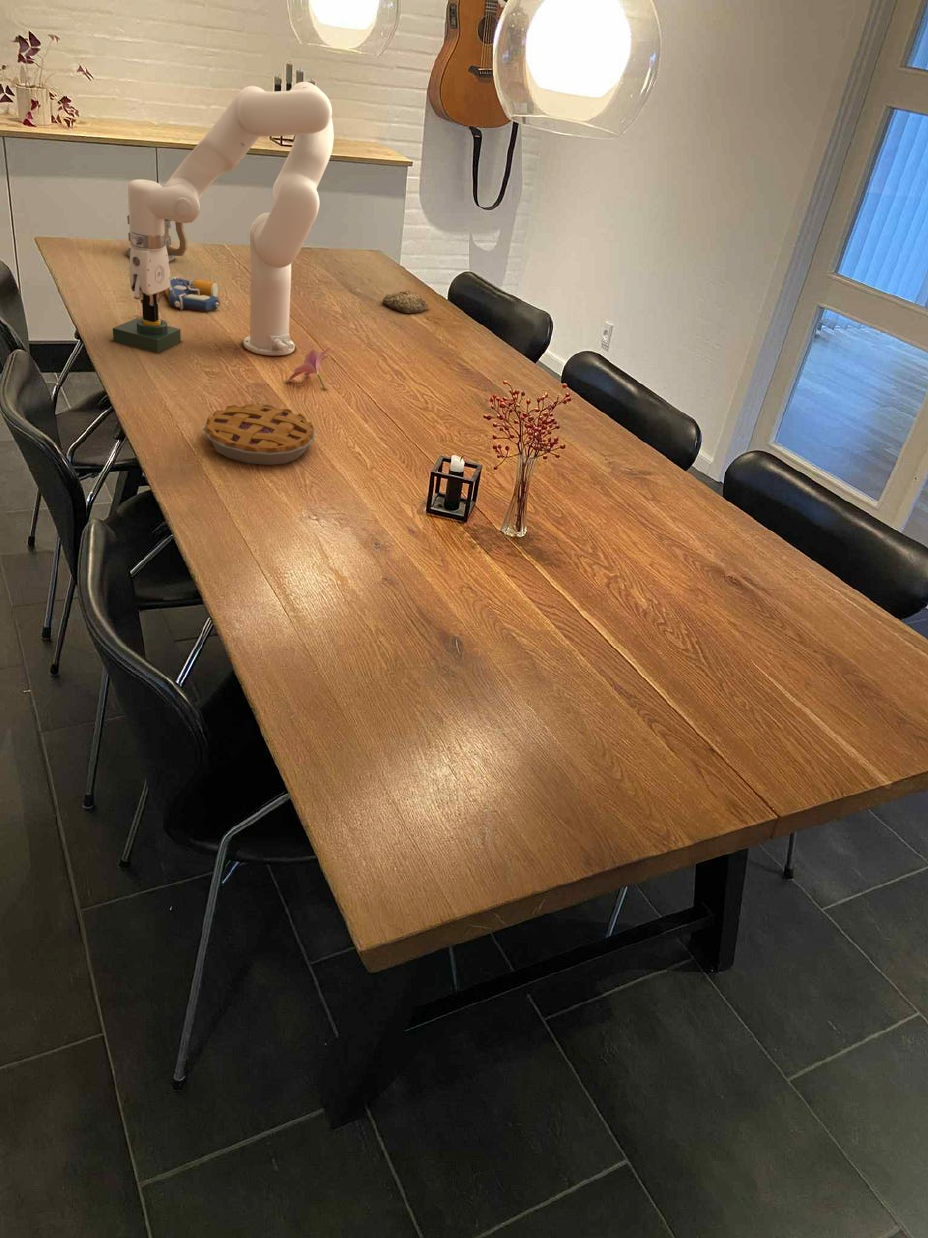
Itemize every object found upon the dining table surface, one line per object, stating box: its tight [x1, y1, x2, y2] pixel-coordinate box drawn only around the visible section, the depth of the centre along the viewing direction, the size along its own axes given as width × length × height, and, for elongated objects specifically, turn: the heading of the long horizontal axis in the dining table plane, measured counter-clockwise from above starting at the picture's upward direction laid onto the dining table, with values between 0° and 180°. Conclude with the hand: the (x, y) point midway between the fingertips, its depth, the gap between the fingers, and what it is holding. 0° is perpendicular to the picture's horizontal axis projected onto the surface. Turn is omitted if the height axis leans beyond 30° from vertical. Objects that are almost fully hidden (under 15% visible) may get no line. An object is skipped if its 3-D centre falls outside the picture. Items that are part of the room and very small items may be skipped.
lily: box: [286, 346, 332, 390], centre depth 215 cm, size 12×12×10 cm
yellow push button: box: [143, 318, 162, 326], centre depth 222 cm, size 4×4×2 cm
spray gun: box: [163, 275, 221, 312], centre depth 253 cm, size 21×4×15 cm
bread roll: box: [382, 290, 429, 314], centre depth 276 cm, size 13×12×5 cm
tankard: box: [126, 214, 194, 263], centre depth 276 cm, size 20×13×15 cm, turn 80°
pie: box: [203, 403, 316, 466], centre depth 186 cm, size 22×22×5 cm
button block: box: [112, 317, 182, 354], centre depth 223 cm, size 12×10×5 cm
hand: (150, 319), depth 221 cm, fingers closed
